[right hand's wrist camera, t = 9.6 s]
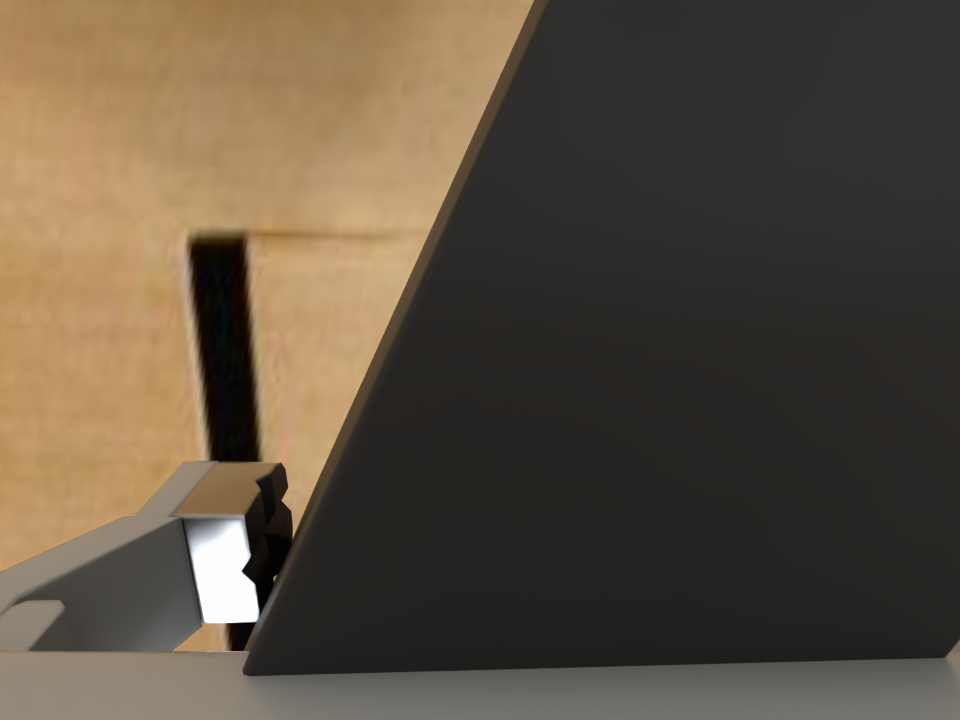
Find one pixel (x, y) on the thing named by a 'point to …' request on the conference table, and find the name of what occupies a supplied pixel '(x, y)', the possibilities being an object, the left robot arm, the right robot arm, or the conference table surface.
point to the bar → (663, 362)
